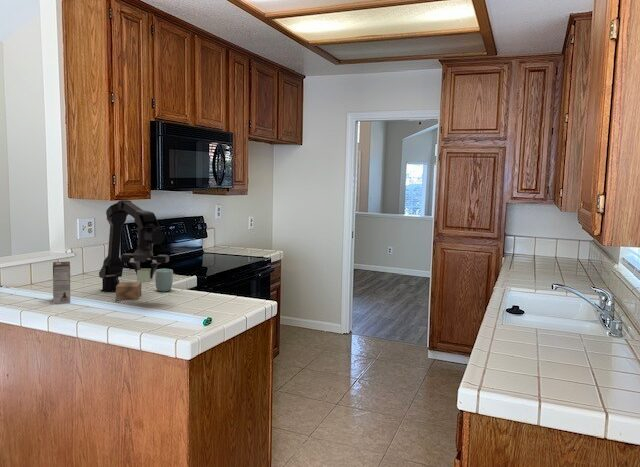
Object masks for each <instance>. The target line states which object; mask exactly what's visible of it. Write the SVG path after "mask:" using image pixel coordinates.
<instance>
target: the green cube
mask: <svg viewBox="0 0 640 467" xmlns="http://www.w3.org/2000/svg"><path fill="white" fill-rule="evenodd" d="M150 275H151V268H142V267H140V269H139V270H137V274H136V282H142V283H147V284H149V283H151V282H152V281H154V277H153V278H152V279H151V276H150Z"/></svg>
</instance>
